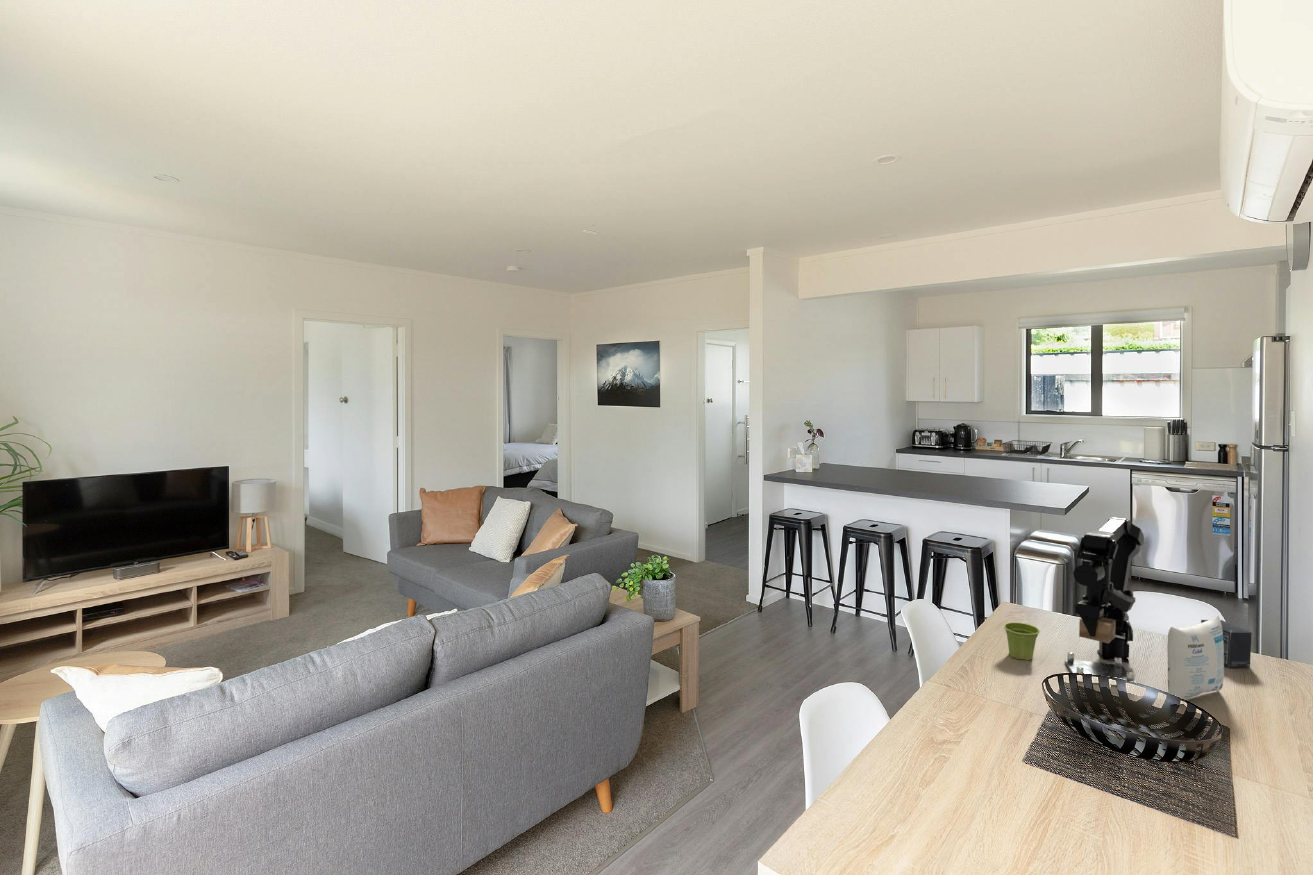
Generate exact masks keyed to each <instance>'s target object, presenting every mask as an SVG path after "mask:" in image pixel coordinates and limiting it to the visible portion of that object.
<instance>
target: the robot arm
mask: <svg viewBox="0 0 1313 875" xmlns="http://www.w3.org/2000/svg"><path fill="white" fill-rule="evenodd" d="M1144 542H1145V535H1144V533H1143V530H1142V529H1141V528H1140V527H1139V526H1137V525H1135V524H1133V523H1132V522H1131V520H1130V519H1128V518H1123V517H1116V516H1115V517H1114V516H1113V517H1109V518H1108V520H1107V522H1106V523H1105V524H1104V525H1103V526H1102V527H1101V528H1099V529H1098V530H1089V531H1087V532H1086V533H1084V534H1083V535H1082V537H1081V539H1080V542H1079V545H1078V546H1079V548H1078V552H1077V554H1076V558H1077V559H1079V560H1080V559H1082V560H1081V564H1079V565H1077V566H1076V567H1075V568H1074V570H1073V577H1074V580H1075V581H1076V582H1077V583H1078V584H1080V585H1081V586H1084V595H1082V600H1080V601H1079V602H1077V603H1076V604H1074V605H1073V610H1072V612H1073V613H1074V614H1077V615H1079V617H1080V618H1081V619H1082V621H1083V623H1084V625H1085V627H1086V629H1087V631H1088V633H1089V635H1090V636H1092V637H1095V634H1096V630H1097V626H1098V621H1099V619H1101V618H1102V617H1103V618H1107V619H1112V620H1116V624H1115V638H1114V639H1113V640H1112V641H1111V642H1110V643H1105V642H1100V641H1098V649H1097V651H1096V652H1097V653H1098V655H1099V656H1100V658H1102V660H1108V661H1115V657H1120V658H1122V662H1128V663H1129V661H1130V660H1129V659H1128V658H1130V643H1129V642H1133V641H1134V630H1133V627H1132V624H1131V622H1130V620H1129V619H1130V617H1129V615H1128V612H1129V611H1131V610H1132V608H1133V606H1134V604H1135V603H1136V597H1134V591H1133V590H1131V589H1129V588H1128V583H1129V578H1130V577H1129V576H1130V571H1131V565H1132V560H1133V559H1134V558H1135V557H1136V556H1137V555H1138V554H1139V553H1140V552H1141V547H1142V546H1143V545H1144Z"/></svg>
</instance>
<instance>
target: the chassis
mask: <svg viewBox="0 0 1313 875" xmlns="http://www.w3.org/2000/svg"><path fill="white" fill-rule="evenodd" d="M1066 654H1067V656H1066V657H1067V658H1065V659H1064V663H1065V665H1066V667H1067V669H1068V671H1069V672H1070V673H1079V674H1083V673H1084V674H1092V675H1101V676H1110V677H1117V678H1122V679H1125V680H1127V681H1133V682H1135V683H1136V681H1135V673H1134V672H1130V671H1127V670H1126V668H1125V667H1124V666H1123V665H1122V664H1123V661H1122V658H1120V657H1115V660H1114V663H1105V662H1095V661H1087V660H1078V659H1077V660H1075V653H1074V652H1072V651H1071V652H1070V651H1068V652H1067V653H1066ZM1136 684H1137V683H1136Z"/></svg>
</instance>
